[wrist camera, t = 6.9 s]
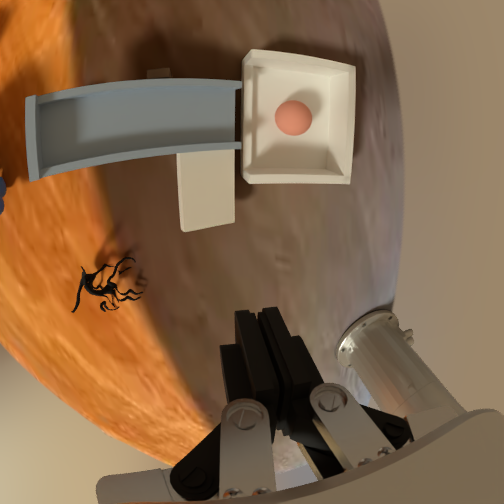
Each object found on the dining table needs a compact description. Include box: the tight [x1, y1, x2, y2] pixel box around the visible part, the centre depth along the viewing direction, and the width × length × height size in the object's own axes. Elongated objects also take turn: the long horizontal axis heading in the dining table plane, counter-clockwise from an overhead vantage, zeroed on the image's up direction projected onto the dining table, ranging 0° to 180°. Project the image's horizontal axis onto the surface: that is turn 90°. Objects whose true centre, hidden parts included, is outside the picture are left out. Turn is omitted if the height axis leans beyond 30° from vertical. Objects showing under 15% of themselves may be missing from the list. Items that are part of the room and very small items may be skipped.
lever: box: [25, 78, 242, 232], centre depth 19 cm, size 17×13×4 cm
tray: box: [240, 49, 356, 184], centre depth 23 cm, size 10×12×4 cm
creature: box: [71, 257, 143, 313], centre depth 27 cm, size 8×5×8 cm
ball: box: [275, 100, 312, 136], centre depth 23 cm, size 4×4×4 cm
